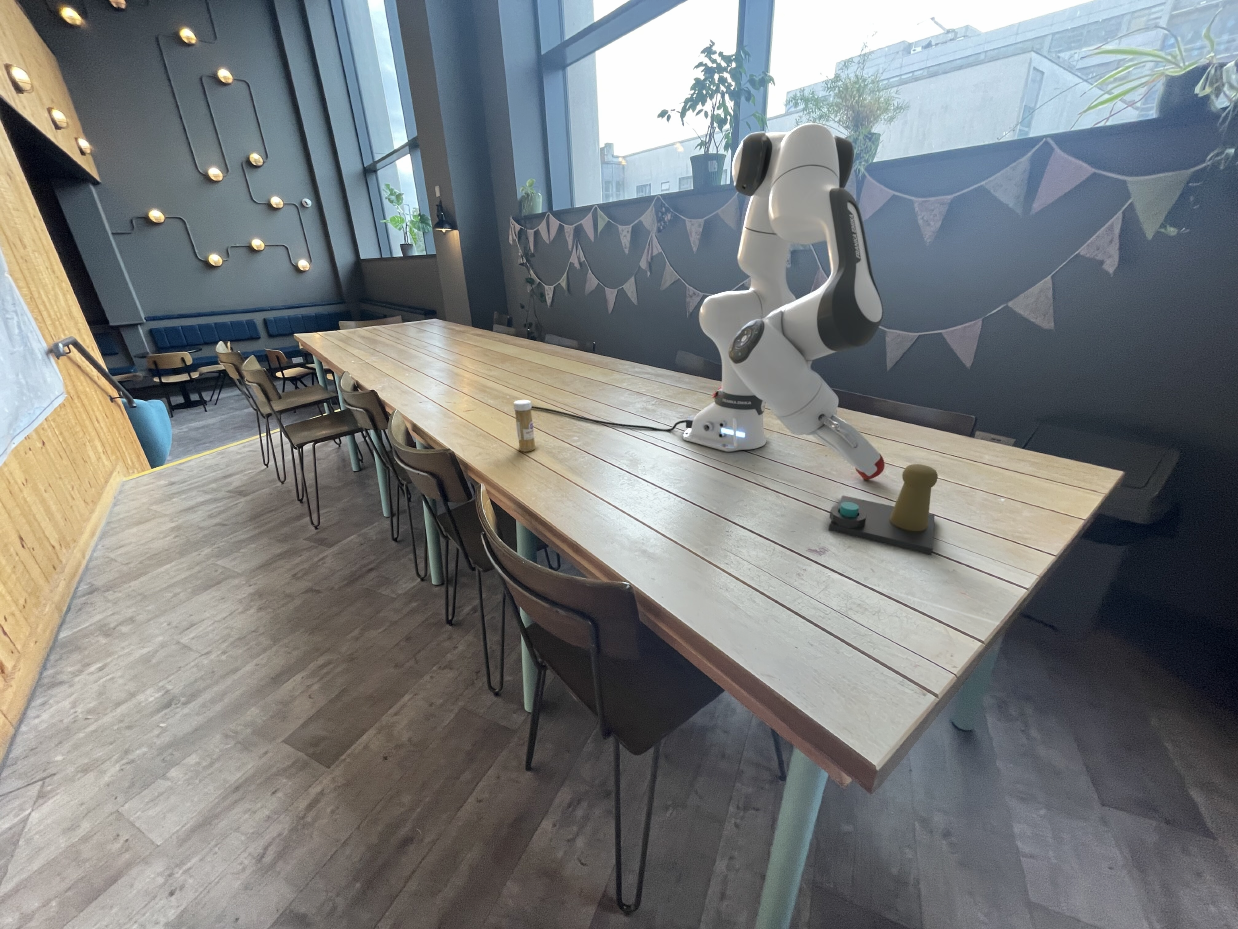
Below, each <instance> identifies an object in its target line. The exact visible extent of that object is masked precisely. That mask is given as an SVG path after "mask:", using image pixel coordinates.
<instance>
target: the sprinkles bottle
mask: <svg viewBox="0 0 1238 929" xmlns="http://www.w3.org/2000/svg"><path fill="white" fill-rule="evenodd" d="M531 401H532V400H529V399H519V400H515V401H514V402H513V410H514V413H515V424H516V432H517V439H518V446H519V447H518V449H519V451H521V452H526V453H527V452H531V451H534V450H535V449H536V441H535V429H534V421H533V414H532V408H531V406H532V402H531Z"/></svg>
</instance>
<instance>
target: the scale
mask: <svg viewBox="0 0 1238 929" xmlns="http://www.w3.org/2000/svg"><path fill="white" fill-rule="evenodd" d="M843 502H851V503H855V504H857V505H858V506H859V510H858V515H857V517H846V516H843V515H841V514H840V513H839V512H840V506H841V503H843ZM894 506H895V505H889V504H886V503H881V502H875V501H871V500H866V499H861V498H857V497H853V496H847V495H841V497H840V499H839V501H838V503H837V504H836V505H834V506H831V508H830V512H829V519H830V522H829V524H828V525H829V526H828V531H831V532H834V533H838V534H843V535H846V536H851V537H855V538H860V539H864V540H867V541H872V542H876V543H880V544H882V545H883V544H884V545H887V546H891V547H896V548H900V549H904V550H908V551H912V552H915V553H920V554H925V555H928V556H931V555H932V552H933V548H934V534H935V533H934V530H935V516H936V514H933V513H929V517H928V526H927V529H925V530H922V531H911V530H906V529H902V528H900V527H897V526H895V525H894V524H892V523H891V522H890V519H889V518H890V516H891V513H892V511H893V508H894Z"/></svg>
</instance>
